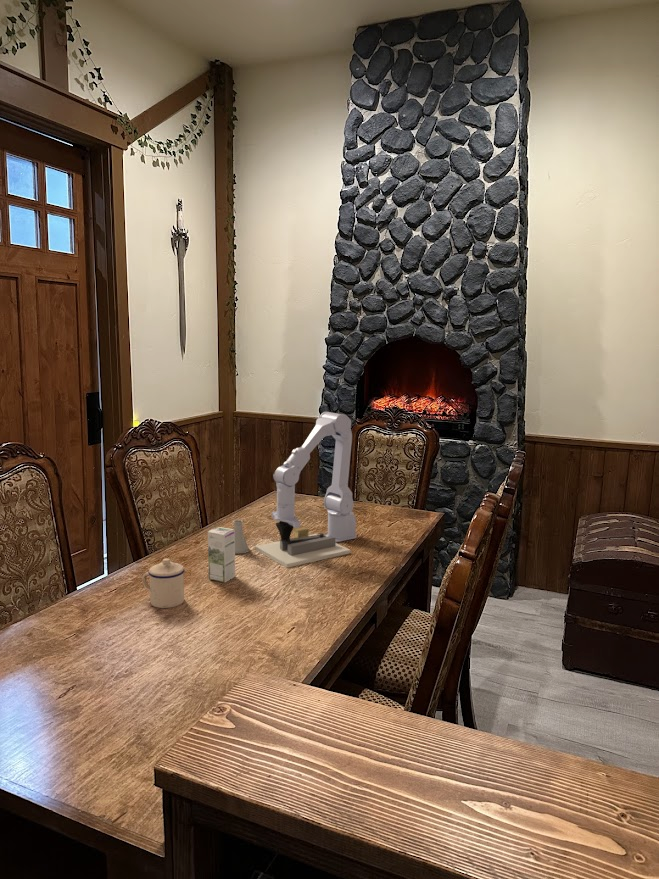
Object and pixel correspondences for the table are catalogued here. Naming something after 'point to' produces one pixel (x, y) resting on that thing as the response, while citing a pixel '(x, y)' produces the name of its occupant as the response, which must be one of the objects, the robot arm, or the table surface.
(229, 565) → the syrup box
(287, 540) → the block
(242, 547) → the flask
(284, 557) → the hearth board
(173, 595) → the teacup with lid
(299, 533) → the block
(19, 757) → the table surface
